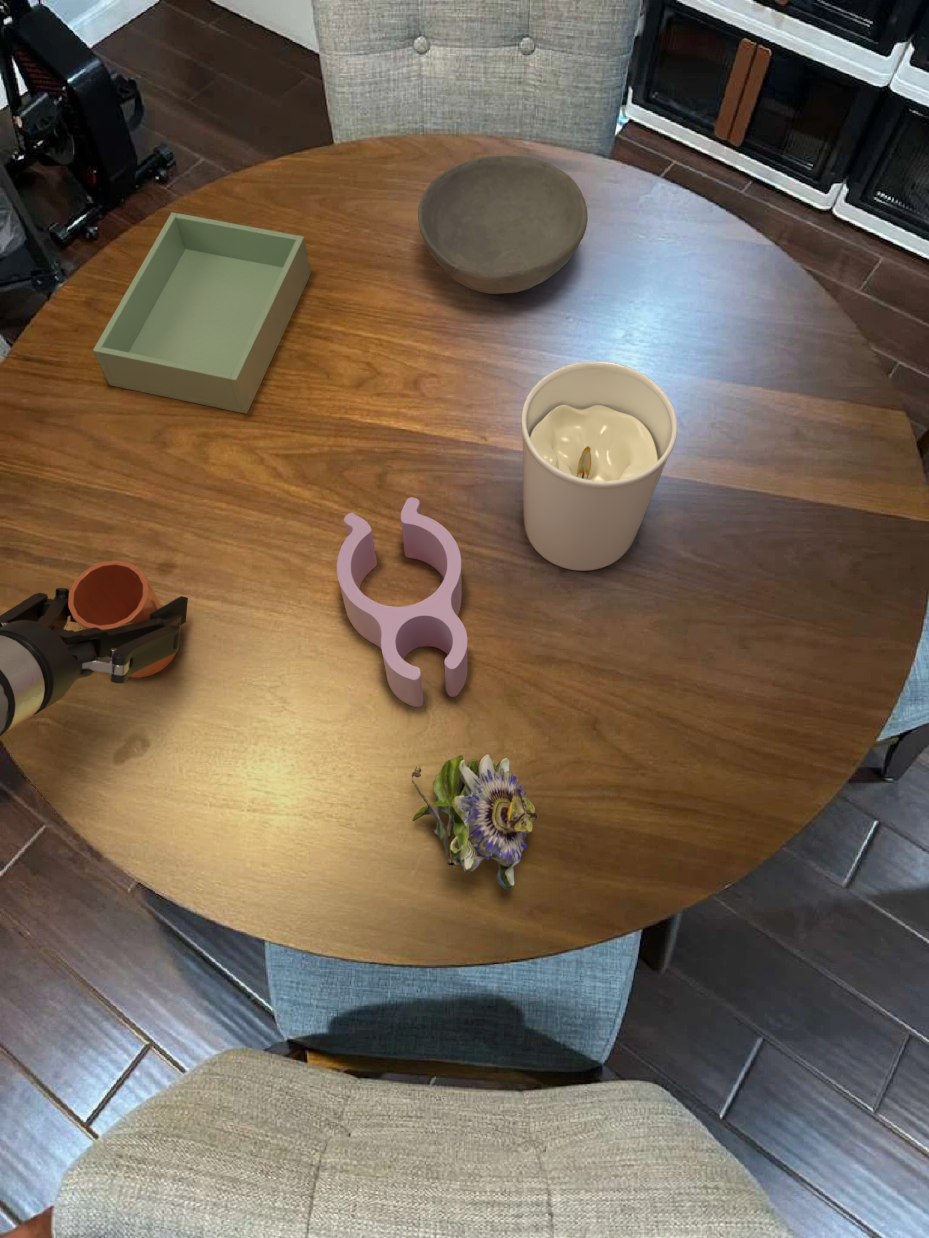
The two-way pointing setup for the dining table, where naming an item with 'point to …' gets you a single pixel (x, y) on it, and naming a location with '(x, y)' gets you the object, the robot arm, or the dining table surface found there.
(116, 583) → the cup
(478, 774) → the passion flower
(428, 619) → the clip
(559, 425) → the candle holder
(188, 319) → the green tray
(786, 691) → the dining table surface
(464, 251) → the bowl
